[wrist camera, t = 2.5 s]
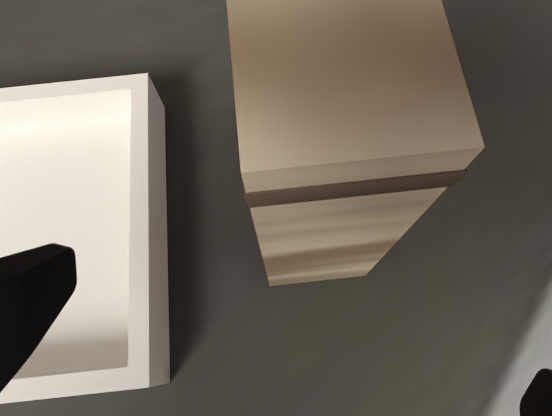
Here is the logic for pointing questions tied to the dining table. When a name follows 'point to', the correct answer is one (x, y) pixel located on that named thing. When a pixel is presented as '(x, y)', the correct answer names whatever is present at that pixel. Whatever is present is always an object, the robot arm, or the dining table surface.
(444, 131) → the birch block
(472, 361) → the dining table surface
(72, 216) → the tray
